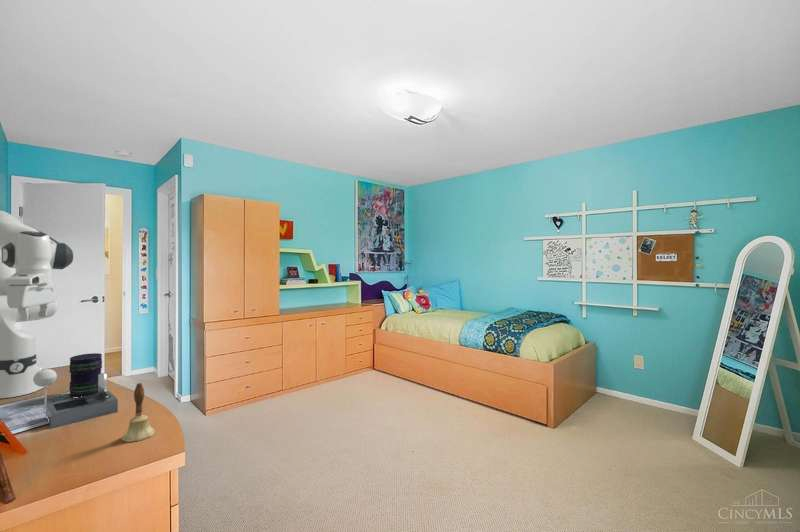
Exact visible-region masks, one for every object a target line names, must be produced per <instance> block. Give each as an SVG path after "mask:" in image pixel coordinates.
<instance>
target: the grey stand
mask: <svg viewBox="0 0 800 532" xmlns="http://www.w3.org/2000/svg"><path fill="white" fill-rule="evenodd" d="M118 402H119V400H118V398H117V397H116V396H115V395H114V394H113V393H112V392H111V391H109V390H108V373H107V372H101V374H98V393H97V394H92V395H87V396H82V397H78V398H68V399H65V400H58V401H55V402H50V403H46V412H45V417H46V416H47V417H48V419H49V423H48V424H49V426H50V428H51V429H54V428H58V427H62V426H65V425H69V424H74V423H77V422H82V421H86V420H90V419H94V418H99V417H102V416H105V415H106V416H107V415H109V414H113V413H118V412H119V411H118V407H119V406H118V405H119V403H118Z"/></svg>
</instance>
